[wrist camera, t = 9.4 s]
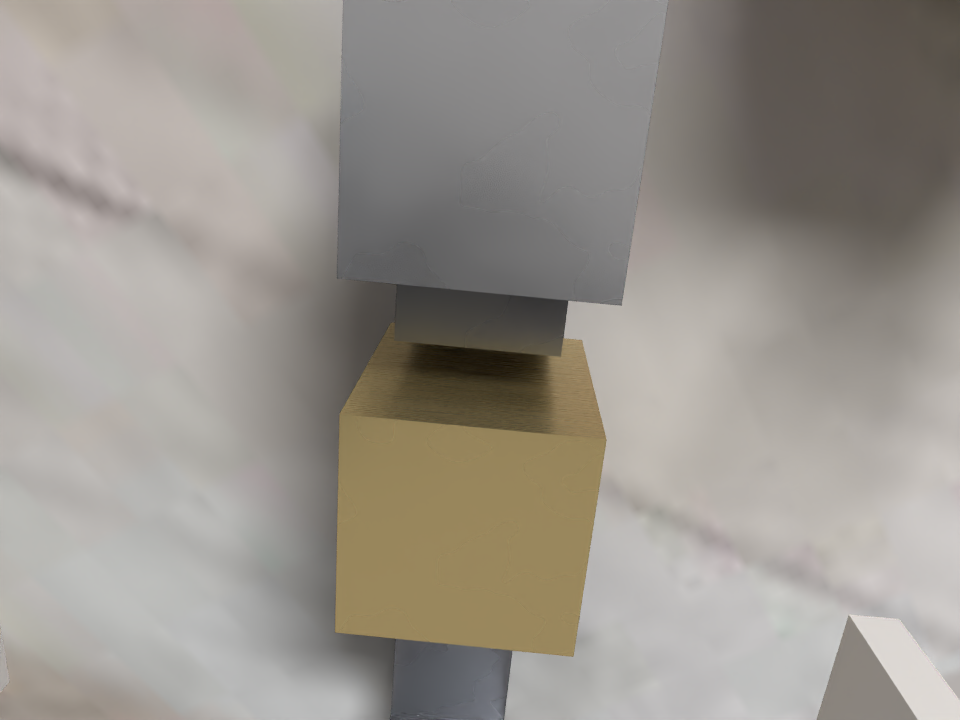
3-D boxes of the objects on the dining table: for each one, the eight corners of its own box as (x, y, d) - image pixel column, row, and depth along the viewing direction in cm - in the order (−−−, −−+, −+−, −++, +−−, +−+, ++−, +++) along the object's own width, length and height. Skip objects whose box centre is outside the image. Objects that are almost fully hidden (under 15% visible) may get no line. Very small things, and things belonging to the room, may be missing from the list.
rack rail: (400, 688, 27) (368, 846, 21) (448, -70, 19) (417, -140, 13) (501, 699, 27) (495, 860, 21) (592, -58, 19) (622, -123, 13)
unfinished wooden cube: (384, 490, 21) (334, 632, 16) (391, 322, 20) (339, 413, 14) (559, 507, 21) (573, 656, 16) (581, 340, 20) (606, 439, 14)
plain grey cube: (391, 223, 19) (337, 278, 13) (401, 3, 17) (343, -40, 12) (591, 241, 19) (621, 305, 13) (620, 23, 17) (670, -12, 11)
